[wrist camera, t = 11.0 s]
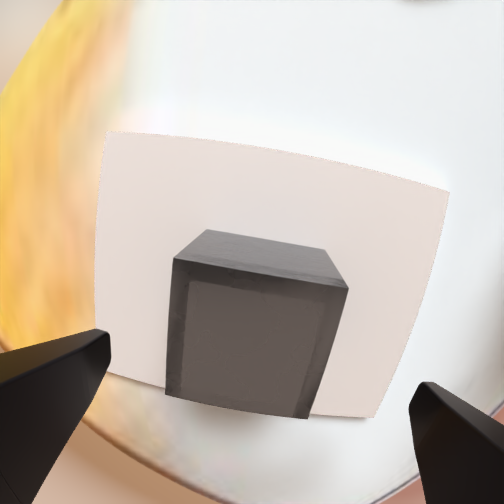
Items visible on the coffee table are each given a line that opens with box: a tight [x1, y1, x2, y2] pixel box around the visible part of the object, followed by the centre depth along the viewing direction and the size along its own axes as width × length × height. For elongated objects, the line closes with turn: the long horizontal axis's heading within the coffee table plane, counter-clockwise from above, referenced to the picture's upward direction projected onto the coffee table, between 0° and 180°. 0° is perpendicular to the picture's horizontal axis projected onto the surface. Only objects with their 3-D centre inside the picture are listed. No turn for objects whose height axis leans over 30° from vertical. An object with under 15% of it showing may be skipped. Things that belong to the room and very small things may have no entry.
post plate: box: [95, 131, 450, 418], centre depth 16 cm, size 20×16×5 cm
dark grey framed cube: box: [165, 229, 349, 419], centre depth 15 cm, size 6×6×6 cm
